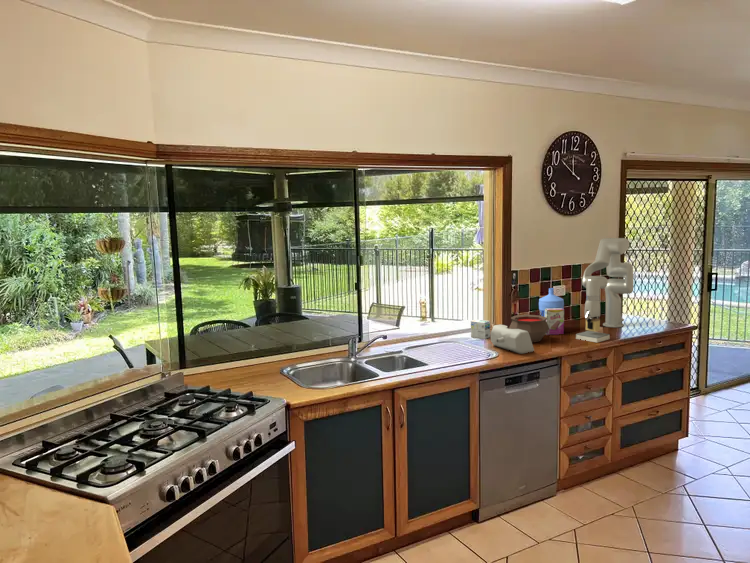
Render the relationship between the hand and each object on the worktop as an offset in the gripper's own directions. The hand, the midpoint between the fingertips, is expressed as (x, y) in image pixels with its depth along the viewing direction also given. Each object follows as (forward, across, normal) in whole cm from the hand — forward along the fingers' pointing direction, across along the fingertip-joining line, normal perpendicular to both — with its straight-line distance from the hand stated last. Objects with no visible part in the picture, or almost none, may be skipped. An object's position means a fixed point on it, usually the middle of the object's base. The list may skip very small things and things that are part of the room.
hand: (592, 327), depth 320 cm
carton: (+1, 0, 0) cm, 1 cm away
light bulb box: (+7, +44, -50) cm, 67 cm away
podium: (+7, 0, 0) cm, 7 cm away
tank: (+8, +54, -18) cm, 58 cm away
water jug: (+7, -2, -31) cm, 32 cm away
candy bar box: (+7, +5, -24) cm, 25 cm away
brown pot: (+7, +28, -25) cm, 38 cm away
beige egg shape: (+7, -11, -3) cm, 13 cm away
